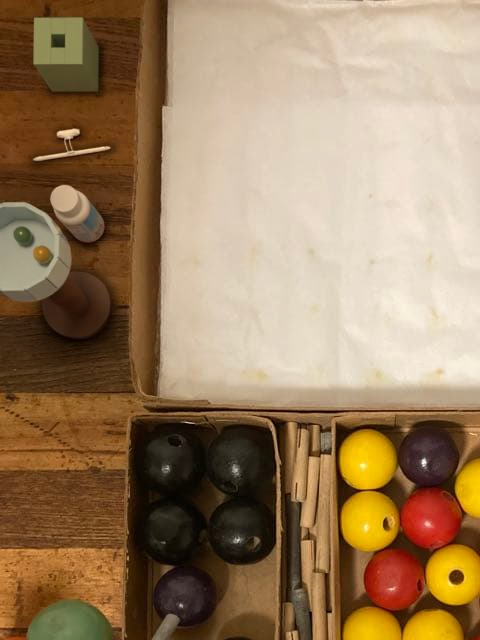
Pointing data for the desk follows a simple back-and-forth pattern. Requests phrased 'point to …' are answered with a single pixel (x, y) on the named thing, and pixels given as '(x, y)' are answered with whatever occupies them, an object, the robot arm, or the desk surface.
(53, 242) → the bowl
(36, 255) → the yellow bead
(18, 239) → the green bead
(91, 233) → the pill bottle
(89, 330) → the pedestal
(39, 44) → the stand
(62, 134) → the picture light
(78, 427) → the desk surface
